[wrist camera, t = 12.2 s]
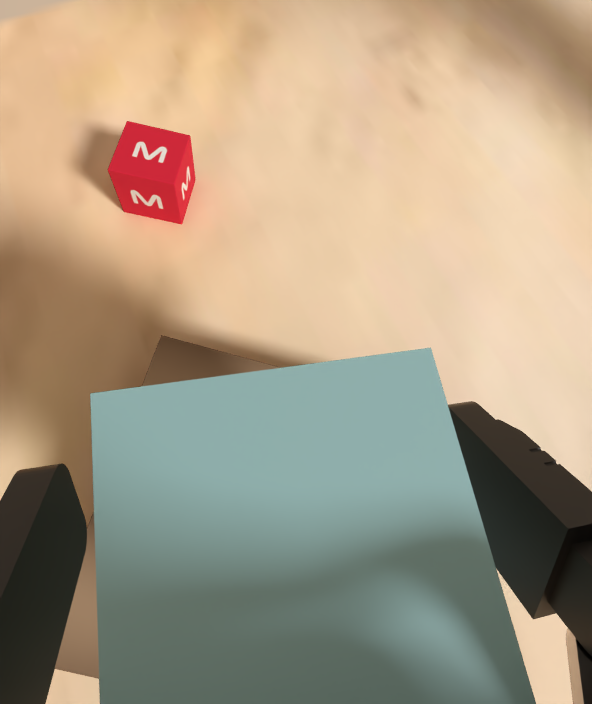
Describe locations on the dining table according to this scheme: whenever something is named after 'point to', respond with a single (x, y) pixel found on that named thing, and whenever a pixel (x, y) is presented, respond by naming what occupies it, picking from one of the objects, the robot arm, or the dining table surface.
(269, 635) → the teal pillar block
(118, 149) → the dice
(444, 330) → the dining table surface
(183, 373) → the walnut base plate
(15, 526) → the robot arm
